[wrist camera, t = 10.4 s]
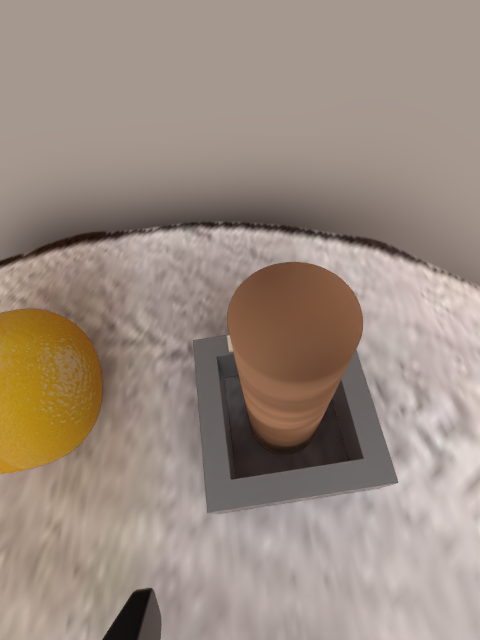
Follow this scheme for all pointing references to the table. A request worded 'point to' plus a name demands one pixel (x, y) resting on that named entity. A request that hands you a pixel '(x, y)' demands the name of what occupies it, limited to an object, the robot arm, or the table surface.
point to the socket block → (295, 485)
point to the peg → (292, 348)
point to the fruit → (44, 388)
